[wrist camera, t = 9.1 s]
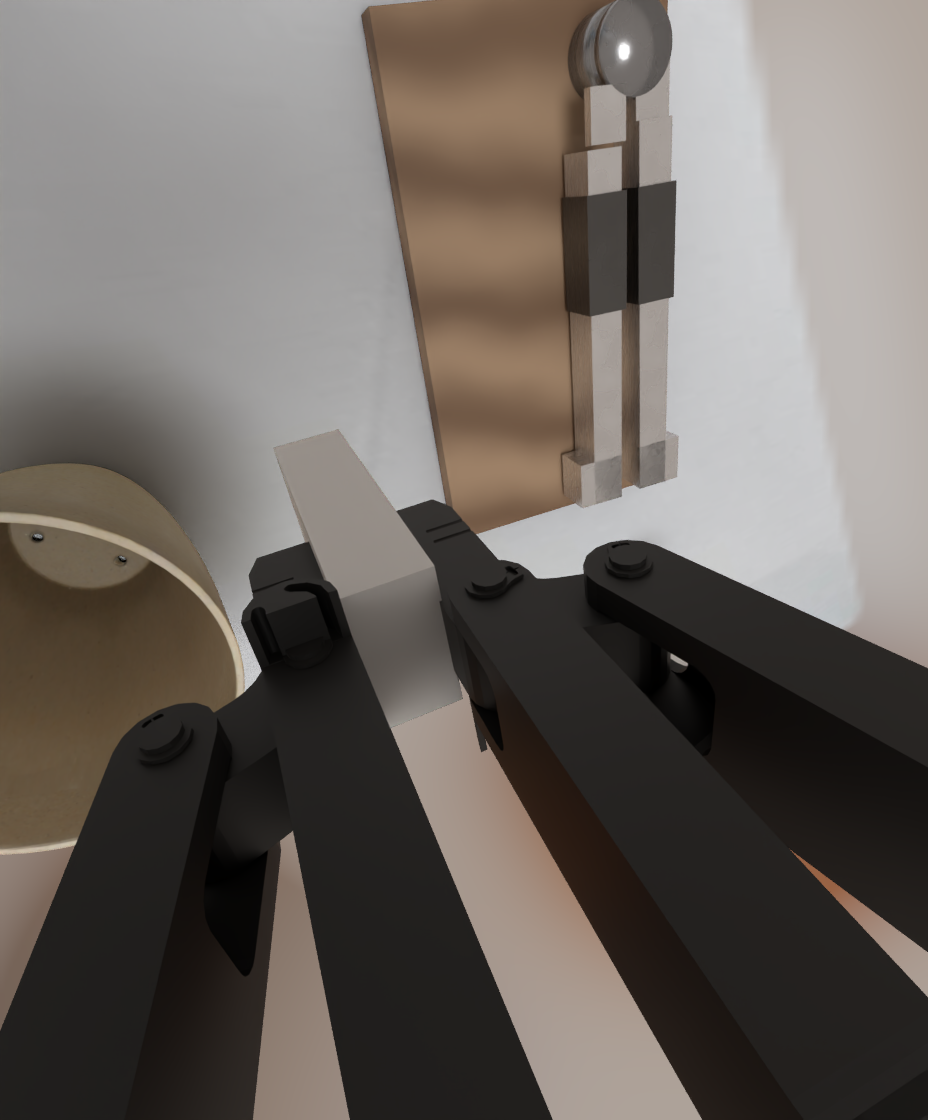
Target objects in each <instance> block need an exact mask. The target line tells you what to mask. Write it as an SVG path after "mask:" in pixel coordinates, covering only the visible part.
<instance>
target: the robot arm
mask: <svg viewBox="0 0 928 1120" xmlns="http://www.w3.org/2000/svg"><path fill="white" fill-rule="evenodd" d="M274 451H275V454H276V457H277V460H278V463H279V466H280V469H281V472H282V475H283V478H284V481H285V484H286V487H287V489H288V492H289V495H290V498H291V501H292V504H293V507H294V510H295V513H296V516H297V519H298V522H299V525H300V528H301V531H302V534H303V537H304V540H305V543H303V544H300V545H296V546H293V547H290V548H287V549H284V550H281V551H278V552H275V553H272V554H269V555H266V556H262V557H259V558H257V559H256V561H255V563H254V565H253V568H252V570H251V572H250V574H249V579H250V584H251V589H252V593H253V599H252V600H251V602H250V603H249V604H248V606H247V607H246V608H245V610H244V611H243V615H242V620H241V624H242V626H243V628H244V631H245V633H246V635H247V638H248V640H249V642H250V644H251V647H252V649H253V651H254V653H255V656H256V658H257V660H258V663H259V665H260V667H261V670H262V672H261V673H260V675H259V676H258V678H257V679H256V681H255V682H254V683H253V684H252V685H251V686H250V687H249V688H248V689H247V690H246V691H245V692H244V693H243V694H241V695H240V696H238V697H237V698H236V699H234V700H233V701H232V702H230V703H228V704H227V705H225V706H223V707H222V708H220V709H219V710H217V711H215V712H213V711H212V710H211V709H210V708H209V707H208V706H205V705H202V704H198V703H195V702H194V703H181V704H175V705H172V706H169V707H166V708H163V709H160V710H157V711H156V712H154V713H152V714H151V715H149V716H147V717H146V718H144V719H142V720H141V721H139V722H138V723H137V724H136V725H134V726H133V727H132V728H131V729H130V730H129V731H128V732H127V733H126V734H125V735H124V736H123V737H122V738H121V740H120V741H119V743H118V745H117V746H116V748H115V750H114V751H113V753H112V755H111V758H110V760H109V763H108V765H107V768H106V770H105V773H104V775H103V778H102V780H101V783H100V785H99V787H98V790H97V792H96V795H95V797H94V800H93V802H92V805H91V807H90V810H89V812H88V815H87V817H86V820H85V822H84V825H83V827H82V830H81V832H80V835H79V837H78V839H77V842H76V844H75V847H74V850H73V852H72V854H71V857H70V859H69V862H68V864H67V867H66V869H65V872H64V874H63V877H62V879H61V882H60V884H59V887H58V889H57V892H56V894H55V897H54V899H53V901H52V904H51V906H50V909H49V911H48V914H47V916H46V919H45V921H44V924H43V926H42V929H41V932H40V934H39V936H38V939H37V941H36V944H35V946H34V949H33V951H32V954H31V956H30V958H29V961H28V963H27V966H26V968H25V971H24V974H23V976H22V978H21V981H20V983H19V986H18V988H17V991H16V993H15V996H14V998H13V1001H12V1003H11V1006H10V1008H9V1010H8V1013H7V1015H6V1018H5V1020H4V1023H3V1025H2V1028H1V1030H0V1120H253V1113H254V1112H253V1111H254V1103H255V1093H256V1084H257V1074H258V1065H259V1055H260V1046H261V1036H262V1025H263V1017H264V1007H265V998H266V989H267V979H268V969H269V960H270V950H271V941H272V931H273V922H274V912H275V903H276V893H277V883H278V873H279V864H280V854H281V847H280V840H282V839H283V838H284V837H285V836H287V835H288V834H289V833H291V832H292V831H293V833H294V837H295V843H296V848H297V853H298V858H299V863H300V868H301V873H302V878H303V884H304V888H305V894H306V899H307V904H308V909H309V914H310V919H311V924H312V929H313V934H314V939H315V945H316V950H317V955H318V960H319V965H320V970H321V975H322V980H323V985H324V990H325V995H326V1000H327V1005H328V1010H329V1016H330V1021H331V1026H332V1031H333V1036H334V1040H335V1046H336V1051H337V1056H338V1061H339V1066H340V1071H341V1076H342V1082H343V1087H344V1092H345V1097H346V1102H347V1107H348V1112H349V1117H350V1120H552V1117H551V1115H550V1112H549V1110H548V1108H547V1105H546V1103H545V1100H544V1098H543V1095H542V1093H541V1090H540V1088H539V1086H538V1083H537V1081H536V1078H535V1076H534V1074H533V1071H532V1069H531V1066H530V1064H529V1062H528V1059H527V1057H526V1054H525V1052H524V1049H523V1047H522V1045H521V1042H520V1040H519V1038H518V1035H517V1033H516V1030H515V1028H514V1025H513V1023H512V1021H511V1018H510V1016H509V1013H508V1011H507V1008H506V1006H505V1004H504V1001H503V999H502V997H501V994H500V992H499V989H498V987H497V984H496V982H495V980H494V977H493V975H492V972H491V970H490V967H489V965H488V963H487V960H486V958H485V955H484V953H483V951H482V948H481V946H480V943H479V941H478V939H477V936H476V934H475V931H474V929H473V927H472V924H471V922H470V919H469V917H468V914H467V912H466V910H465V907H464V905H463V902H462V900H461V898H460V895H459V893H458V890H457V888H456V885H455V883H454V881H453V878H452V876H451V873H450V871H449V869H448V866H447V864H446V861H445V859H444V857H443V854H442V852H441V849H440V847H439V844H438V842H437V840H436V837H435V835H434V832H433V830H432V828H431V825H430V823H429V820H428V818H427V816H426V813H425V811H424V808H423V806H422V803H421V802H420V799H419V796H418V794H417V792H416V789H415V787H414V784H413V782H412V779H411V777H410V775H409V772H408V770H407V767H406V765H405V763H404V760H403V758H402V755H401V753H400V750H399V748H398V746H397V743H396V741H395V739H394V736H393V734H392V731H391V729H390V728H392V727H395V726H397V725H400V724H402V723H405V722H407V721H410V720H412V719H414V718H417V717H419V716H422V715H424V714H427V713H429V712H432V711H434V710H437V709H439V708H442V707H444V706H447V705H449V704H452V703H454V702H456V701H459V700H461V699H463V697H462V692H461V688H460V683H459V679H460V681H461V683H462V684H463V686H464V688H465V689H466V691H467V693H468V694H469V698H470V703H471V707H472V713H473V718H474V722H475V727H476V732H477V737H478V741H479V745H480V749H481V752H482V751H485V750H487V745H486V741H487V743H488V744H489V746H490V748H491V750H492V752H493V753H494V755H495V757H496V759H497V760H498V762H499V764H500V766H501V767H502V769H503V771H504V772H505V774H506V776H507V778H508V780H509V781H510V783H511V785H512V787H513V788H514V790H515V792H516V794H517V795H518V797H519V799H520V801H521V802H522V804H523V806H524V808H525V809H526V811H527V813H528V814H529V816H530V818H531V820H532V822H533V824H534V825H535V827H536V829H537V831H538V832H539V834H540V836H541V837H542V839H543V841H544V843H545V844H546V846H547V848H548V850H549V851H550V853H551V855H552V857H553V859H554V860H555V862H556V864H557V866H558V867H559V869H560V871H561V873H562V874H563V876H564V878H565V880H566V881H567V883H568V885H569V887H570V888H571V890H572V892H573V894H574V895H575V897H576V899H577V901H578V902H579V904H580V906H581V908H582V909H583V911H584V913H585V915H586V916H587V918H588V920H589V922H590V923H591V925H592V927H593V929H594V931H595V932H596V934H597V936H598V938H599V939H600V941H601V943H602V944H603V946H604V948H605V950H606V951H607V953H608V955H609V957H610V959H611V960H612V962H613V964H614V966H615V967H616V969H617V971H618V973H619V974H620V976H621V978H622V980H623V981H624V983H625V985H626V987H627V988H628V990H629V992H630V994H631V995H632V997H633V999H634V1001H635V1002H636V1004H637V1006H638V1008H639V1009H640V1011H641V1013H642V1015H643V1016H644V1018H645V1020H646V1021H647V1024H648V1025H649V1027H650V1029H651V1030H652V1032H653V1034H654V1036H655V1037H656V1039H657V1041H658V1043H659V1044H660V1046H661V1048H662V1050H663V1052H664V1053H665V1055H666V1057H667V1059H668V1060H669V1062H670V1064H671V1065H672V1067H673V1069H674V1071H675V1073H676V1074H677V1076H678V1078H679V1080H680V1081H681V1083H682V1085H683V1087H684V1088H685V1090H686V1092H687V1094H688V1095H689V1097H690V1099H691V1101H692V1102H693V1104H694V1106H695V1108H696V1109H697V1111H698V1113H699V1115H700V1117H701V1118H702V1120H928V997H927V996H926V995H925V994H924V993H923V992H922V991H921V989H920V988H919V987H918V986H917V985H916V984H915V983H914V982H913V981H912V980H911V979H910V978H909V977H908V976H907V975H906V973H905V972H904V971H903V970H902V969H901V968H900V967H899V966H898V965H897V964H896V963H895V962H894V961H893V960H892V958H890V956H889V955H888V954H887V953H886V952H885V951H884V950H883V949H882V948H881V947H880V946H879V945H878V943H876V941H875V940H874V939H873V938H872V937H871V936H870V935H869V934H868V933H867V932H866V931H865V930H864V929H863V927H862V926H861V925H860V924H859V923H858V922H857V921H856V920H855V919H854V918H853V917H852V916H851V915H850V914H849V913H848V911H847V910H846V909H845V908H844V907H843V906H842V905H841V904H840V903H839V902H838V901H837V900H836V899H835V897H834V896H833V895H832V894H831V893H830V892H829V891H828V890H827V889H826V888H825V887H824V886H823V885H822V884H821V883H820V882H819V880H818V879H817V878H816V877H815V876H814V875H813V874H812V873H811V872H810V871H809V870H808V869H807V868H806V867H805V865H804V864H803V863H802V862H801V861H800V860H799V859H798V858H797V857H796V856H795V855H794V854H793V853H792V851H793V852H794V853H796V854H797V855H798V856H800V857H801V858H802V859H804V860H805V861H806V862H808V863H809V864H811V865H812V866H813V867H814V868H816V869H817V870H818V871H820V872H821V873H822V874H824V875H825V876H826V877H828V878H829V879H830V880H832V881H833V882H835V883H836V884H837V885H839V886H840V887H841V888H843V889H844V890H845V891H847V892H848V893H849V894H851V895H852V896H853V897H855V898H856V899H857V900H859V901H860V902H861V903H863V904H864V905H865V906H867V907H868V908H869V909H871V910H872V911H873V912H875V913H876V914H877V915H879V916H880V917H881V918H883V919H884V920H885V921H887V922H888V923H889V924H891V925H892V926H894V927H895V928H896V929H897V930H899V931H900V932H901V933H903V934H904V935H906V936H907V937H908V938H910V939H911V940H912V941H914V942H915V943H916V944H918V945H919V946H920V947H922V948H923V949H924V950H926V951H927V952H928V668H926V667H924V666H922V665H919V664H917V663H915V662H913V661H911V660H908V659H906V658H904V657H902V656H900V655H897V654H895V653H893V652H891V651H889V650H886V649H884V648H882V647H880V646H878V645H875V644H873V643H871V642H869V641H866V640H864V639H862V638H860V637H858V636H856V635H853V634H851V633H849V632H847V631H845V630H842V629H840V628H838V627H836V626H834V625H831V624H829V623H827V622H825V621H823V620H820V619H818V618H816V617H814V616H812V615H809V614H807V613H805V612H803V611H801V610H798V609H796V608H794V607H792V606H789V605H787V604H785V603H783V602H781V601H778V600H776V599H774V598H772V597H770V596H767V595H765V594H763V593H761V592H759V591H756V590H754V589H752V588H750V587H748V586H745V585H743V584H741V583H739V582H737V581H734V580H732V579H730V578H728V577H726V576H723V575H721V574H719V573H717V572H715V571H712V570H710V569H708V568H706V567H704V566H701V565H699V564H697V563H695V562H693V561H690V560H688V559H686V558H684V557H682V556H679V555H677V554H675V553H673V552H671V551H668V550H666V549H664V548H662V547H660V546H657V545H654V544H650V543H647V542H644V541H632V540H622V541H616V542H610V543H607V544H605V545H602V546H600V547H597V548H595V549H594V550H593V551H592V552H591V553H589V554H588V555H587V556H586V559H585V562H584V564H583V570H584V574H581V575H574V576H567V577H560V578H549V579H538V578H535V577H534V575H533V574H532V573H531V572H530V571H529V570H527V569H526V568H524V567H523V566H521V565H520V564H518V563H514V562H510V561H506V560H498V559H497V558H496V557H495V556H494V554H493V553H492V552H491V551H490V550H489V549H488V548H487V547H486V545H485V544H484V543H483V542H482V541H481V540H480V539H479V537H478V536H477V535H476V534H475V533H474V532H473V531H471V529H470V527H469V526H468V525H467V524H466V523H465V522H464V521H462V518H461V517H460V516H459V515H458V514H457V513H456V512H455V510H454V509H453V508H452V507H451V506H448V505H445V504H443V503H440V502H438V501H435V500H429V501H426V502H423V503H420V504H417V505H414V506H411V507H408V508H405V509H402V510H398V511H396V510H395V509H394V508H393V506H392V505H391V503H390V502H389V500H388V499H387V498H386V496H385V495H384V493H383V492H382V491H381V489H380V488H379V486H378V485H377V483H376V482H375V481H374V479H373V478H372V476H371V475H370V473H369V472H368V471H367V469H366V468H365V466H364V465H363V464H362V462H361V461H360V459H359V458H358V456H357V455H356V454H355V452H354V451H353V449H352V448H351V446H350V445H349V444H348V442H347V441H346V439H345V438H344V436H343V435H342V434H341V432H340V431H339V429H338V430H334V431H331V432H327V433H324V434H320V435H317V436H313V437H310V438H306V439H303V440H299V441H296V442H292V443H289V444H285V445H282V446H278V447H275V448H274ZM671 654H673V655H675V656H676V657H678V658H680V659H681V660H683V661H685V662H686V663H688V666H684V665H682V664H679V663H677V662H676V661H674V660H672V659H671ZM485 739H486V740H485ZM790 850H792V851H790Z"/></svg>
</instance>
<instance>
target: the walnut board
mask: <svg viewBox="0 0 928 1120" xmlns="http://www.w3.org/2000/svg"><path fill="white" fill-rule="evenodd" d="M614 1H616V0H432V1H422V2H411V3H401V4H390V5H380V6H370V7H368V8H367V9H366V10H365V12H364V13H363V14H362V15H361V16H362V21H363V27H364V33H365V39H366V44H367V50H368V56H369V62H370V67H371V73H372V79H373V85H374V90H375V96H376V102H377V108H378V114H379V119H380V125H381V131H382V137H383V142H384V148H385V154H386V160H387V165H388V171H389V177H390V183H391V188H392V194H393V200H394V206H395V211H396V217H397V223H398V229H399V234H400V240H401V246H402V252H403V258H404V263H405V269H406V275H407V281H408V286H409V292H410V298H411V304H412V309H413V315H414V321H415V327H416V332H417V338H418V344H419V350H420V355H421V361H422V367H423V373H424V378H425V384H426V390H427V396H428V402H429V407H430V413H431V419H432V425H433V430H434V436H435V442H436V448H437V453H438V459H439V465H440V471H441V476H442V482H443V488H444V494H445V499H446V505H448V506H451V507H452V508H453V509H454V510H455V512H456V513H457V514H458V515H459V516H460V517H461V518H462V521H464V522H465V523H466V524H467V525H468V526H469V527H470V529H471V531H473V532H474V533H475V534H478V533H481V532H484V531H488V530H491V529H494V528H497V527H500V526H504V525H507V524H510V523H513V522H516V521H520V520H523V519H526V518H529V517H532V516H536V515H539V514H542V513H545V512H548V511H552V510H555V509H558V508H561V507H564V506H568V505H571V504H574V503H575V502H573V501H572V500H570V499H569V498H568V497H566V496H565V495H564V483H563V463H562V454H565V453H569V452H572V451H575V431H574V405H573V379H572V354H571V328H570V312H569V311H567V302H566V278H565V254H564V229H563V205H562V198H563V197H565V174H564V155H566V154H572V153H578V152H584V151H590V150H597V149H604V148H612V147H613V143H608V144H601V145H593V146H586V147H585V112H584V100H583V99H582V98H581V97H580V96H579V95H578V93H577V92H576V90H575V89H574V87H573V85H572V82H571V79H570V76H569V71H568V50H569V45H570V41H571V38H572V36H573V33H574V31H575V29H576V28H577V26H578V25H579V23H580V22H581V21H582V20H583V19H584V18H585V17H586V16H587V15H589V14H591V13H592V12H594V11H596V10H598V9H600V8H602V7H604V6H606V5H608V4H610V3H612V2H614ZM659 1H660V3H661V4H662V5H663V7H664V9H665V10H666V12H667V5H668V0H659ZM632 485H633V484H631V483H630V482H628V481H626V480H625V479H623V478H622V488H625V487H628V486H632Z"/></svg>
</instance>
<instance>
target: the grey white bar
mask: <svg viewBox="0 0 928 1120" xmlns="http://www.w3.org/2000/svg"><path fill="white" fill-rule="evenodd" d="M614 2H615V1H614ZM614 2H612V3H610V4H608V5H606V6H604V7H602V8H600V9H598V10H596V11H594V12H592V13H591V14H589V15H587V16H586V17H585V18H584V19H583V20H582V21H581V22H580V23H579V25H578V26H577V28H576V29H575V31H574V33H573V36H572V38H571V41H570V45H569V50H568V71H569V76H570V79H571V82H572V85H573V87H574V89H575V90H576V92H577V93H578V95H579V96H580V97H581V98H582V99H583V100H584V89H585V88H588V87H593V86H602V85H603V83H602V81H601V79H600V77H599V75H598V72H597V69H596V65H595V59H594V43H595V36H596V32H597V28H598V25H599V23H600V21H601V18H602V17H603V15H604V13H605V12H606V10H607V9H608V8H609V7H610V6H611V5H612V4H613V3H614ZM669 72H670V60H669V63H668V66H667V69H666V71H665V73H664V75H663V77H662V78H661V80H660V81H659V83H658V84H657V85H656V86H655V87H654V88H653V89H652V90H650V91H649V92H647V93H646V94H643V95H641V96H637V97H633V98H626V141H622V142H615V143H613V147H619V146H622V190H627V309H624V310H622V478H623V479H625V480H626V481H628V482H630V483H631V484H633V485H635V486H636V487H638V488H644V487H647V486H650V485H653V484H656V483H659V482H663V481H666V480H669V479H672V478H675V477H677V464H678V436H677V435H675V434H673V433H670V432H668V431H666V399H667V350H668V300H669V298H670V297H674V255H675V213H676V181H671V152H672V116H669Z"/></svg>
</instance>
